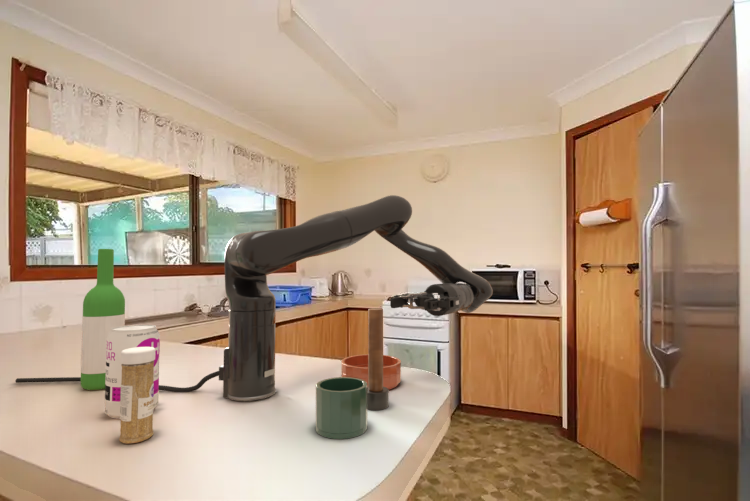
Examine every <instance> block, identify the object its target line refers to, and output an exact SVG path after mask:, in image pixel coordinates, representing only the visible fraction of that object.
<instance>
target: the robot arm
mask: <svg viewBox="0 0 750 501" xmlns="http://www.w3.org/2000/svg"><path fill="white" fill-rule="evenodd" d="M412 215H413V207H412V204H411V202H410V201H409V200H407V199H406V198H405V197H402V196H400V195H395V194H394V195H393V194H391V195H390V194H389V195H386V196H383V197H381V198H378V199H375V200H374V201H371V202H368V203H365V204H362V205H357V206H353V207H348V208H344V209H339V210H335V211H330V212H327V213H323V214H320V215H317V216H315V217H312V218H309V219H308V220H306V221H304V222H302V223H300V224H298V225H295V226H289V227H285V228H277V229H269V230H254V231H245V232H241V233H237V234H236V235H234V236H233V237H232V238H231V239H230V240H229V241H228V243H227V244H226V247H225V250H224V291H225V297H226V299H227V302H228V329H227V330H228V335H227V336H228V337H227V339H228V340H227V341H228V342H227V343H228V344H227V347H225V348H224V349H223V365H220V366H219V367H218V370H216V371H214V372H211V373H209V374H207V375H206V376H203V377H202V378H201V379H200V380H199V381H198V382H197V383H196V384H195V385H192V386H187V387H177V386H170V385H162V384H159V391H163V392H164V391H165V392H172V393H190V392H194V391H197V390H199V389H200V388H202V387H203V386H204V384H205V383H206V382H208V381H209V380H212V379H213V378H216V377H218V381H222V386H223V388H222V398H224V399H225V398H226V399H229V400H231V401H237V402H252V401H253V402H254V401H258V400H264V399H267V398H269V397H272V396H274V395H275V393H276V315H277V314H276V313H277V312H276V306H277V304H276V301H277V300H276V299H277V298H276V296H275V294H274V293H273V292H272V291H271V290H270V288H269V285H268V278H267V276H269V275H271V274H273V273H276V272H278V271H280V270H282V269H284V268H286V267H288V266H290V265H293V264H295V263H297V262H299V261H302V260H305V259H308V258H313V257H320V256H322V255H326V254H331V253H334V252H337V251H340V250H344V249H346V248H349V247H351V246H353V245H355V244H357V243H358V242H359V241H362V240H363V239H365V238H366V237H367V236H369V235H370V234H371V233H373V232H375V233H376V234H377V235H379V237H381V238H382V239H384V240H385V241H387V242H388V243H389V244H391V245H392V246H394V247H396V248H397V249H398V250H400V252H403V253H404V254H406V255H408V256H409V257H410V258H411V259H414V261H416V262H417V263H419V264H420V265H421V266H423V267H424V268H425V269H426V270H427V271H428V272H430V274H432V275H433V276H434V277H435V278H436V279H437V280H438V281H439V282H440V283H434V284H430V285H429V286H427V287H426V288H425V289H424V291H421V292H418V293H407V294H399V295H398V294H395V295H393V297H391V298H390V300H389V304H390V308H391V309H398V308H408V309H410V310H422V311H426V312H427V313H428V314H430V315H431V316H433V317H441V316H447V315H451V314H455V313H457V312H460V311H461V312H463V313H466V314H471V313H473V312H475V311H476V310H477V309H478V308H480V307H481V306H482V305H483V304H484V303H486V302H487V301H488V300H489V299H491V297H492V296H493V293H494V290H493V287H492V285H491V283H490V282H489V281H488V280H487V279H485V277H482V276H481V275H478V274H476V273H474V272H472V271H471V270H469V269H467V268H465V267H464V266H462V265H460V264H459V263H458V261H456V260H455V259H454V258H453V257H452V256H451V254H448V252H446V251H445V250H443V249H442V248H440V247H438V246H436V245H433V244H429V243H427V242H423V241H420V240H418V239H415V238H413V237H411V236H410V235H409V234H407V233H406V232H405V231H404V230H403V229H404V227H405V226H406V225H407V224H408V223H409V221H410V219H411V218H412ZM414 304H415V305H414ZM14 382H15V383H16V384H17V383H18V384H22V383H24V384H25V383H27V384H28V383H70V382H71V383H72V382H75V383H76V382H77V383H81V376H74V377H73V376H68V377H65V376H64V377H60V376H59V377H21V378H19V377H18V378H16V379H15V381H14Z"/></svg>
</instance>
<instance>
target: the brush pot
mask: <svg viewBox="0 0 750 501" xmlns="http://www.w3.org/2000/svg"><path fill="white" fill-rule="evenodd" d="M367 429H368V409H367V383H366V381H364V380H361V379H358V378H352V377H341V376H339V377H330V378H329V377H328V378H325V379H322V380H320V381H317V383H316V384H315V431H316V433H317V434H318V435H319V436H321V437H324V438H328V439H331V440H332V439H333V440H346V439H347V440H348V439H352V438H357V437H359V436H362V435H363V434H365V432H366V431H367Z"/></svg>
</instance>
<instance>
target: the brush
mask: <svg viewBox="0 0 750 501" xmlns="http://www.w3.org/2000/svg"><path fill="white" fill-rule="evenodd" d="M367 315H368V316H367V354H368V387H367V410H369V411H382V410H386V409H387V408H389V400H390V399H389V396H390V395H389V393H390V392H389V390H390V389H389V390H388V388H386V387H383V355H384V309H383V308H380V307H379V308H378V307H377V308H376V307H373V308H368V310H367Z"/></svg>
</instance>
